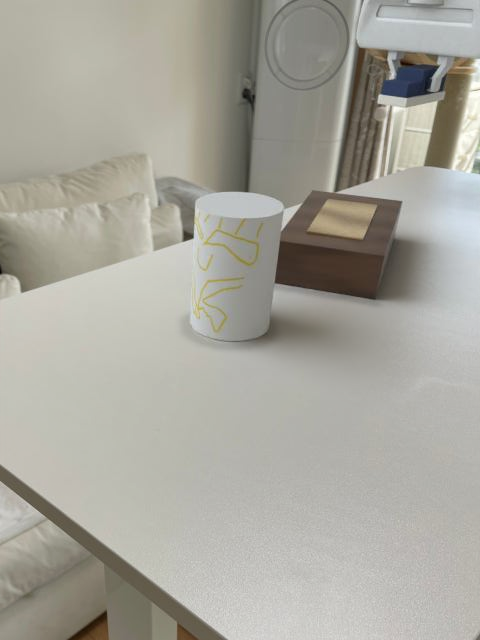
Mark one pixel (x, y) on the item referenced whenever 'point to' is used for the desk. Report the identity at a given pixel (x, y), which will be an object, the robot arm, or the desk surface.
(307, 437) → the desk surface
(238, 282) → the yellow doodled cylinder
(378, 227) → the brown block
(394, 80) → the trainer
